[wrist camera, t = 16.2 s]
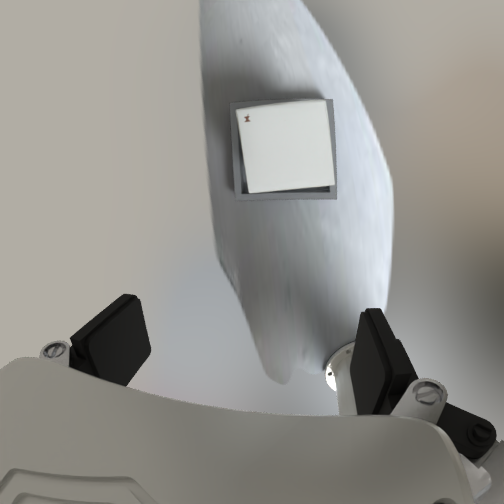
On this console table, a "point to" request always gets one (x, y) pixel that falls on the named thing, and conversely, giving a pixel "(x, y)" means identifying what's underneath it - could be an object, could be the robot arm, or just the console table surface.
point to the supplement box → (286, 146)
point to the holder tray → (291, 194)
